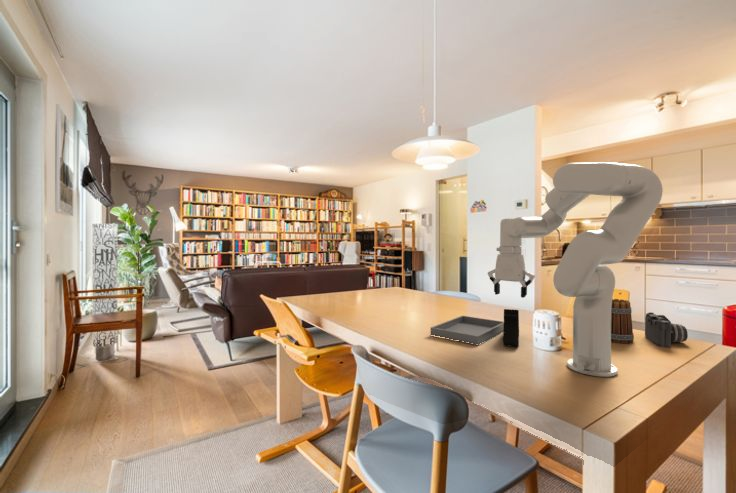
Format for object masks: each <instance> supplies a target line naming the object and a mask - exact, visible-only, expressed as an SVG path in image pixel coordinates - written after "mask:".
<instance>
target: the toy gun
mask: <svg viewBox="0 0 736 493" xmlns="http://www.w3.org/2000/svg"><path fill="white" fill-rule="evenodd" d="M519 311H520V310H519V309H508V308H505V309H503V322H504V328H503V332H502V335H503V336H502V342H503V346H508V345H510V346H511V347H517V346H518V347H519V346H520V345H519V342H520V340H519V337H520V323H519V322H520V318H519V317H520V315H519ZM510 346H509V347H510ZM518 347H517V348H518Z"/></svg>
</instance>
